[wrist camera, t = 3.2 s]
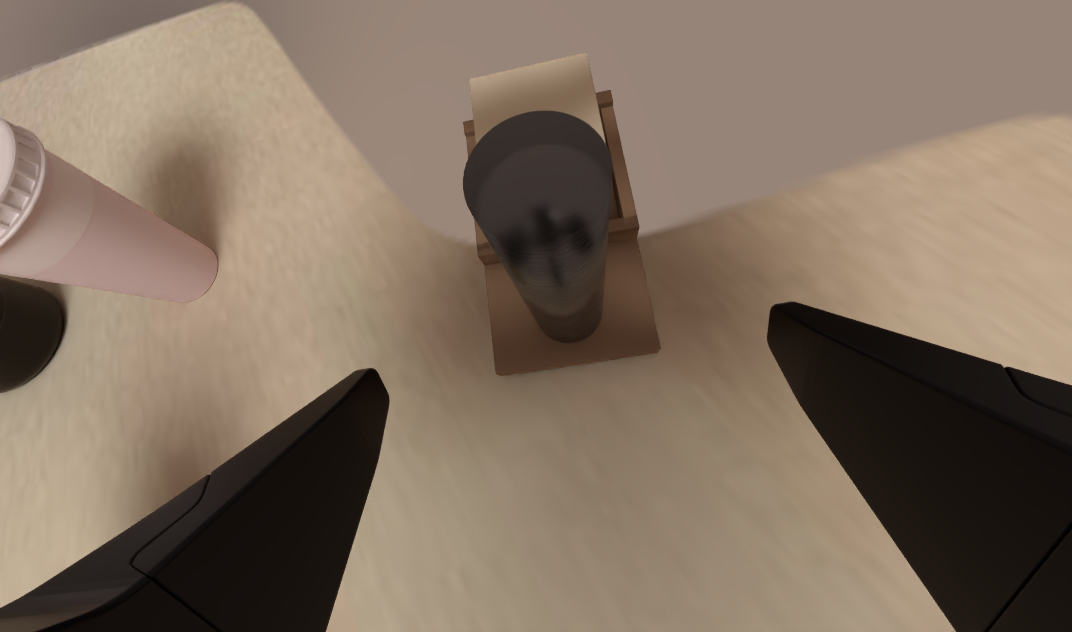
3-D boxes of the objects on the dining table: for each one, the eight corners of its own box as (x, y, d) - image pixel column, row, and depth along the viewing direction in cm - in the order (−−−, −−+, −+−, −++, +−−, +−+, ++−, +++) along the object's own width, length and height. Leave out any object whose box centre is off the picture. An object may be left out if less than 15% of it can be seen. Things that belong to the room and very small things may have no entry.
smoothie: (145, 238, 25) (-363, 33, 12) (238, 213, 25) (-184, -32, 11) (139, 336, 24) (-467, 225, 10) (238, 310, 23) (-261, 158, 10)
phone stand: (657, 352, 19) (753, 249, 7) (500, 376, 20) (369, 316, 8) (608, 125, 22) (623, -186, 11) (476, 152, 23) (360, -110, 12)
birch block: (605, 219, 20) (608, 156, 15) (506, 237, 20) (480, 181, 16) (588, 134, 21) (586, 52, 17) (496, 153, 22) (469, 79, 17)
